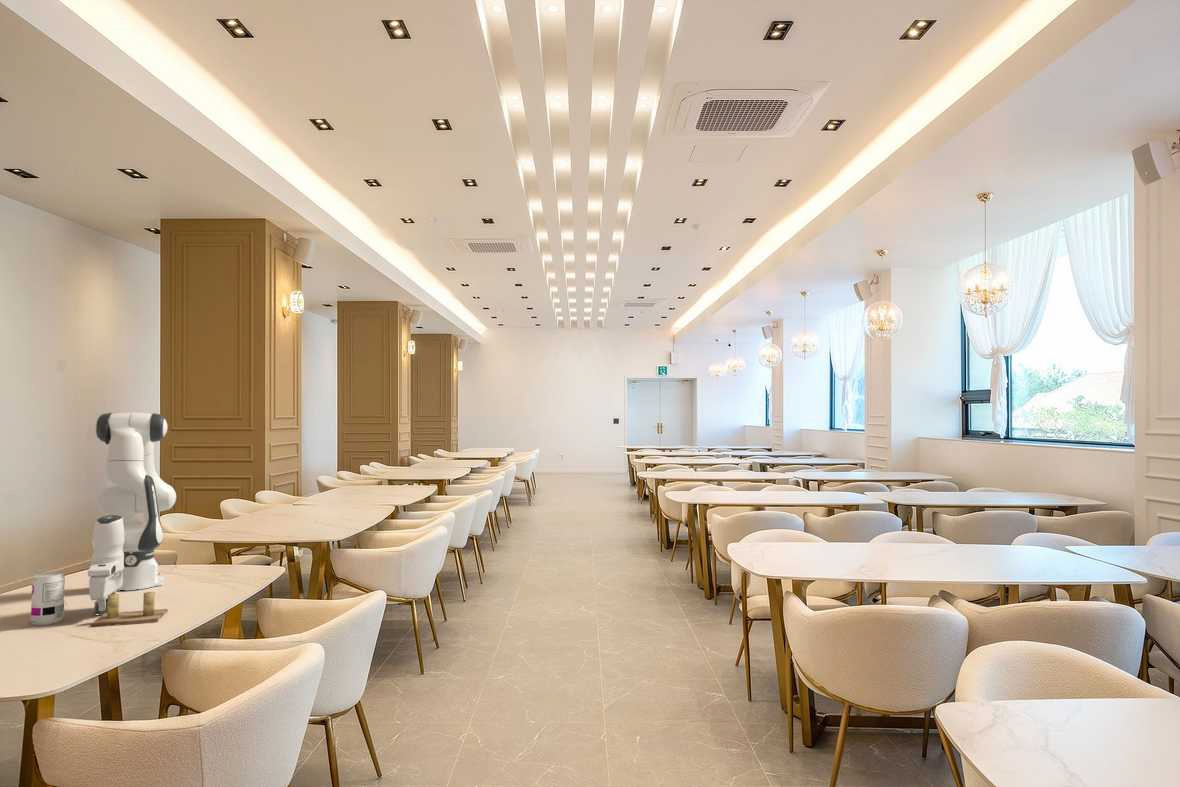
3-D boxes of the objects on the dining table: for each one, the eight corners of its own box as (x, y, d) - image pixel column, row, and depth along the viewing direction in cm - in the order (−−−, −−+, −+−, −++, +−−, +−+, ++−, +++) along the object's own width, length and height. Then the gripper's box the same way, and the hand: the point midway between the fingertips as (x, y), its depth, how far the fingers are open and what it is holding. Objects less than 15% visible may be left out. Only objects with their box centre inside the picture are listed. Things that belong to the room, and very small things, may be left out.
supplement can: (25, 626, 217) (27, 577, 217) (38, 619, 225) (40, 572, 225) (56, 624, 219) (57, 576, 220) (68, 617, 227) (69, 570, 227)
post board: (104, 616, 228) (105, 591, 229) (167, 611, 234) (168, 587, 234) (91, 626, 217) (91, 600, 217) (157, 621, 223) (158, 596, 223)
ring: (98, 610, 235) (98, 598, 235) (120, 609, 237) (121, 597, 237) (91, 616, 229) (91, 603, 229) (114, 614, 231) (114, 602, 231)
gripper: (107, 559, 242) (106, 600, 242) (85, 572, 223) (84, 616, 222) (128, 558, 244) (127, 598, 244) (108, 571, 225) (107, 614, 224)
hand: (106, 607), depth 233 cm, fingers closed on ring, 6 cm apart
